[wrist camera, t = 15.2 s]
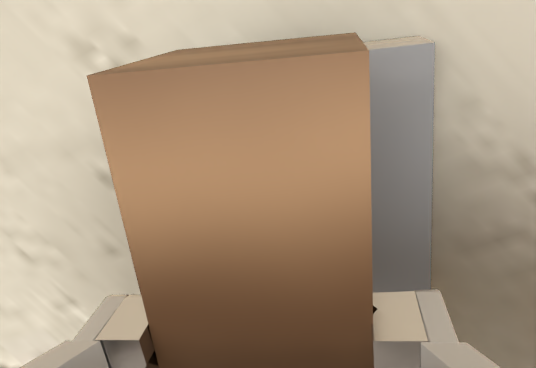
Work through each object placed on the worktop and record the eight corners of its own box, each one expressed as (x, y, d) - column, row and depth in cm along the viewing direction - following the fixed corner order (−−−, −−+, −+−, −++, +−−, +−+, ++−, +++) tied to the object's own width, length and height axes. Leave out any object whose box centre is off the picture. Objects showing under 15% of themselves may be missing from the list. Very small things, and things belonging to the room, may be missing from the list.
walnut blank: (363, 357, 14) (375, 501, 10) (229, 353, 15) (188, 487, 11) (355, 32, 10) (369, 50, 6) (178, 49, 11) (86, 75, 7)
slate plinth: (417, 257, 21) (430, 296, 18) (215, 262, 22) (198, 299, 20) (418, 35, 17) (434, 42, 14) (175, 63, 19) (148, 74, 16)
